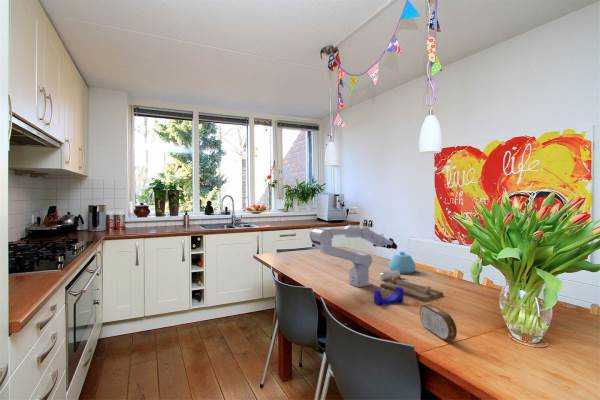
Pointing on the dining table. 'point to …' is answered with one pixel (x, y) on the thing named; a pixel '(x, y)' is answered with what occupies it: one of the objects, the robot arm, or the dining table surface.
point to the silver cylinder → (389, 275)
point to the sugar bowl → (402, 263)
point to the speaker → (438, 322)
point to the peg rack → (412, 290)
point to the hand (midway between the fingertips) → (390, 246)
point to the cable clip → (391, 299)
